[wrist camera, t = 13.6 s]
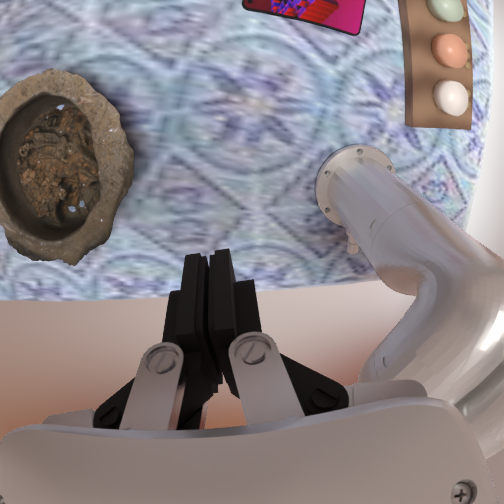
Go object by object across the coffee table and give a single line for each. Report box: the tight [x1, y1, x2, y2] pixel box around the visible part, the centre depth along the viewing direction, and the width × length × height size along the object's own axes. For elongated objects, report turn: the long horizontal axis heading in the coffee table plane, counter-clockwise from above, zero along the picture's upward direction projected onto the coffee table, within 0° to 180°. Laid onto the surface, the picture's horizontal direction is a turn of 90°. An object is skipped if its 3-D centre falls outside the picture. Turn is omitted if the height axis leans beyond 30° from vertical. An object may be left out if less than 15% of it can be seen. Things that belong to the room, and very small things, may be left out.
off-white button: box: [433, 79, 468, 116], centre depth 31 cm, size 5×5×2 cm
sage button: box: [427, 0, 464, 22], centre depth 23 cm, size 5×5×2 cm
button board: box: [398, 0, 473, 130], centre depth 29 cm, size 24×12×2 cm, turn 7°
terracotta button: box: [432, 34, 468, 68], centre depth 27 cm, size 5×5×2 cm
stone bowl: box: [0, 69, 134, 266], centre depth 31 cm, size 25×25×9 cm
